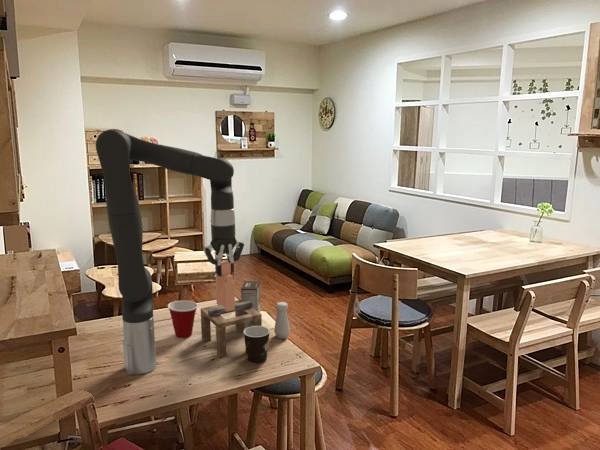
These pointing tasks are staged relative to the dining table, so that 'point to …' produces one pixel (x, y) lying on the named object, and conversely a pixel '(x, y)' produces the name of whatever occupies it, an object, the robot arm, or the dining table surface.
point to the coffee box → (251, 296)
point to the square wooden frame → (227, 322)
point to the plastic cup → (183, 317)
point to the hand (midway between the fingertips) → (224, 274)
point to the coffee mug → (256, 343)
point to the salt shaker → (281, 321)
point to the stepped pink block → (225, 287)
